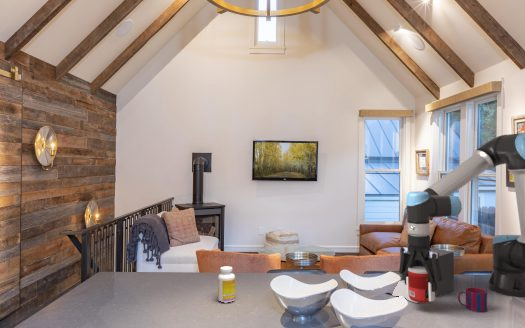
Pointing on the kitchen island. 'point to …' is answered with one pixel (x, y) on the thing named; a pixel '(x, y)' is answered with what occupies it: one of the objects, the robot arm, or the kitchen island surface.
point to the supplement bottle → (226, 284)
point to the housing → (446, 270)
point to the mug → (475, 299)
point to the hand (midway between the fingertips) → (420, 296)
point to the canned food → (418, 284)
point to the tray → (401, 290)
